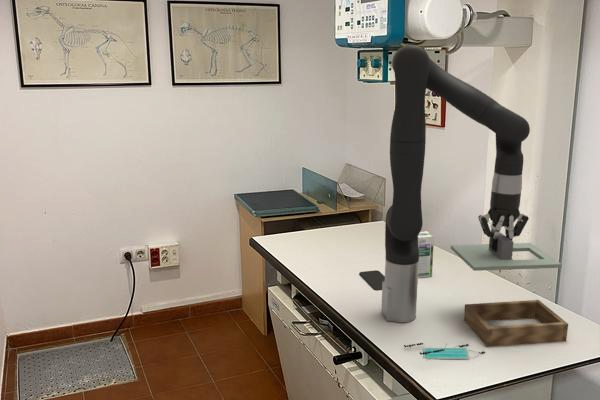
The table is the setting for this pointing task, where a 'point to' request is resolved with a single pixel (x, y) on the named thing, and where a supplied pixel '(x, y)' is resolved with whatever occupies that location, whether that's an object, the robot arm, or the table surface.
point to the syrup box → (425, 254)
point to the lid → (503, 256)
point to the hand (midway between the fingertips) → (500, 250)
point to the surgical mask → (444, 353)
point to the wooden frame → (515, 334)
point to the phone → (373, 279)
